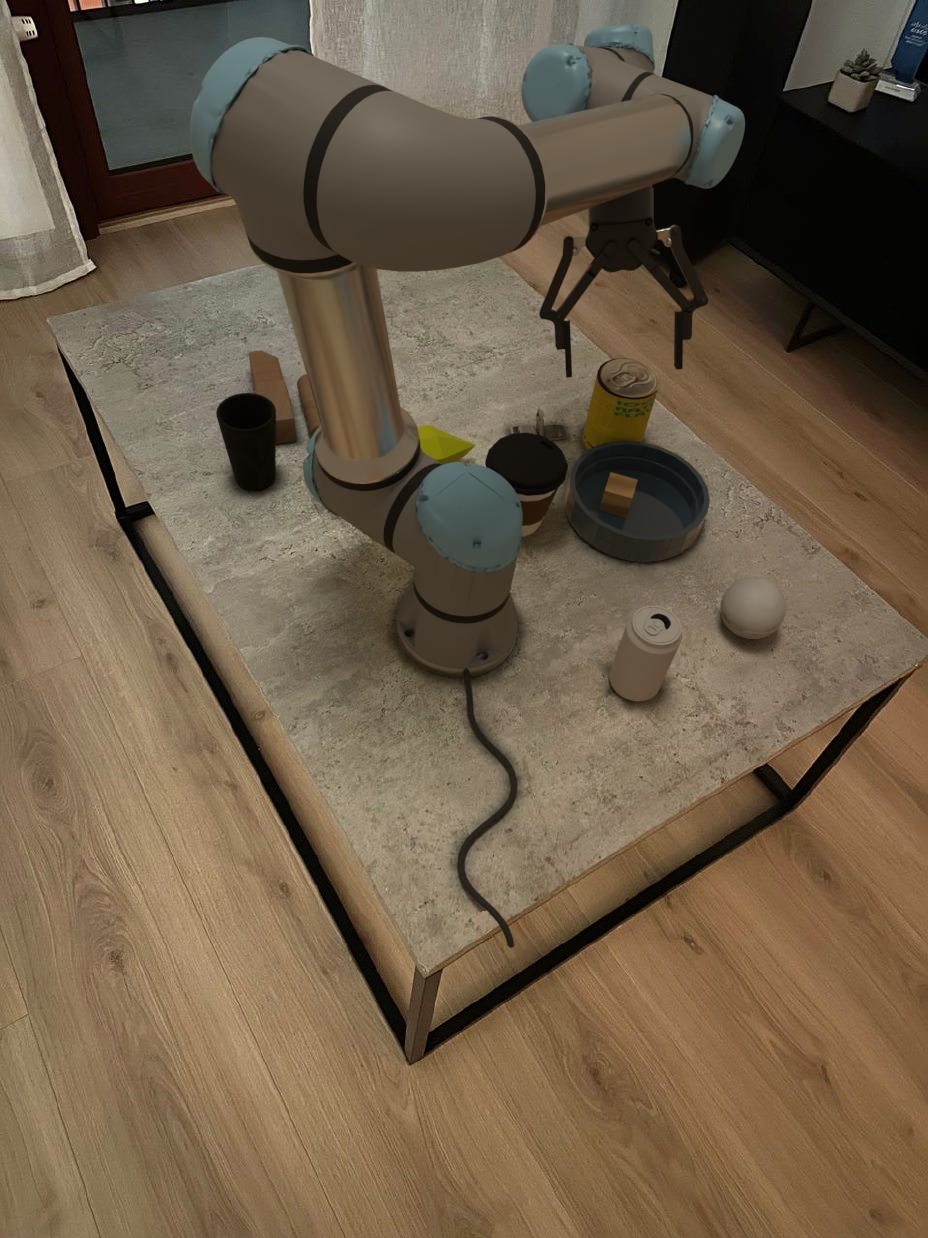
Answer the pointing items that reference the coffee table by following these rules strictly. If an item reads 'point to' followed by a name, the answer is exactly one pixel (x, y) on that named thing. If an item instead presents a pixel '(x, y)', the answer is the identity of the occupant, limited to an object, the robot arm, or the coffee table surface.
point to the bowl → (637, 501)
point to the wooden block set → (282, 395)
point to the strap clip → (540, 428)
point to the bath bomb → (753, 607)
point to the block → (618, 495)
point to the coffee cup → (529, 473)
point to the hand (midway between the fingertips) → (623, 371)
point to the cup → (249, 439)
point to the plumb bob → (442, 445)
